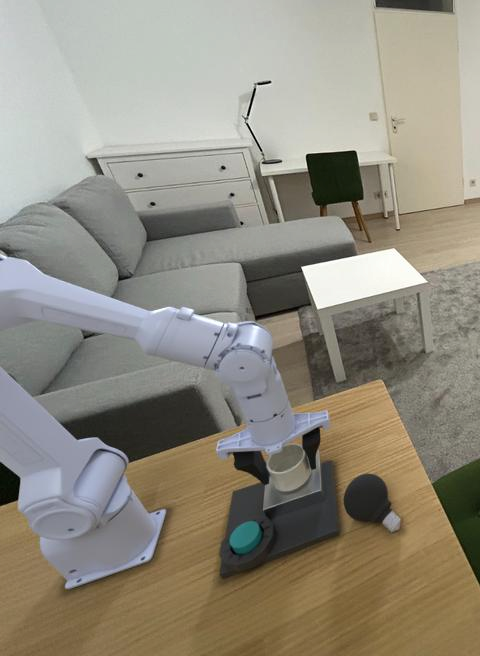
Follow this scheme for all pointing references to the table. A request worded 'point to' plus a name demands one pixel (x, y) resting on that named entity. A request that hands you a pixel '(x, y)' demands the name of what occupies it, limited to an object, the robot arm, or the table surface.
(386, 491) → the light bulb
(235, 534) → the tare button
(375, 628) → the table surface
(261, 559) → the scale
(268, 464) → the bowl
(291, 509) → the plate
